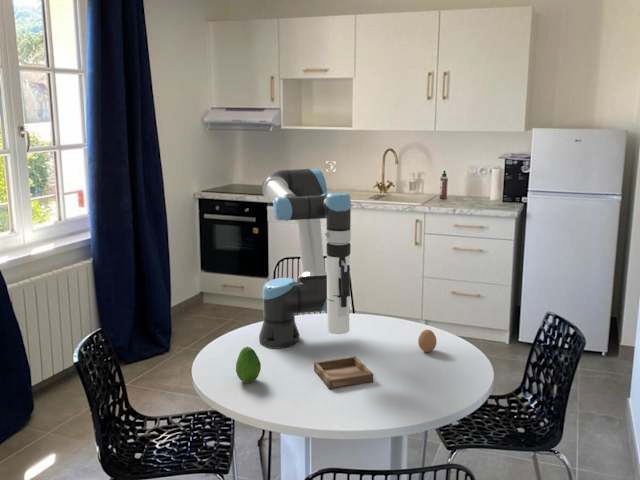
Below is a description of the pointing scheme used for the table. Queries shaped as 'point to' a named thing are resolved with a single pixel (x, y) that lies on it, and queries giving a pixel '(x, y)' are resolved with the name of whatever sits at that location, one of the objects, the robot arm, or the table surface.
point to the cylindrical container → (335, 297)
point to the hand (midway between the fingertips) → (338, 312)
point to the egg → (427, 340)
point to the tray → (343, 372)
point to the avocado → (248, 365)
